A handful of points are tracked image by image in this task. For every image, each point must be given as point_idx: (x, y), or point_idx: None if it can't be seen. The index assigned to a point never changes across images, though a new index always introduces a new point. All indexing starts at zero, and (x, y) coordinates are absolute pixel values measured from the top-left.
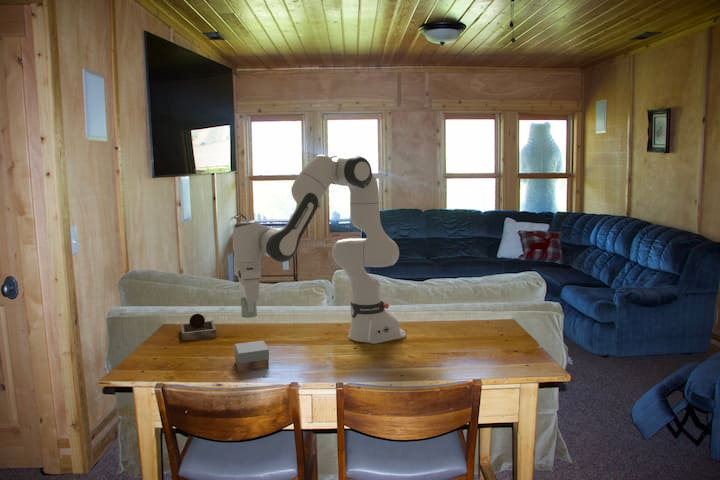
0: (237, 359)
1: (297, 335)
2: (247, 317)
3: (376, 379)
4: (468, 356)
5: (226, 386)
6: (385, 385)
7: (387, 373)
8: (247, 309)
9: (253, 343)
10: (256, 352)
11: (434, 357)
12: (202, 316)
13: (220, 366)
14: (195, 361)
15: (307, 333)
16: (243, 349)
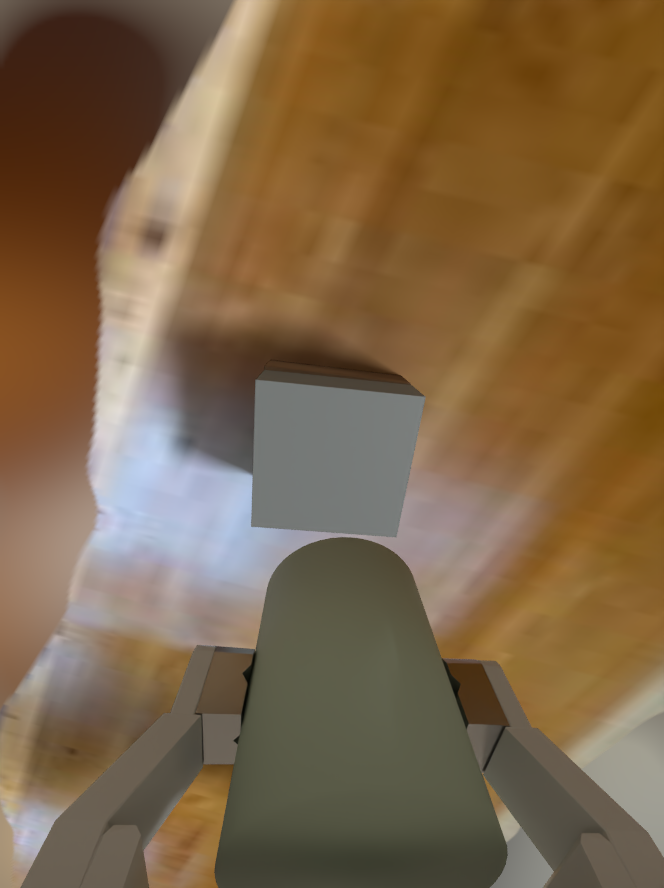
0: (324, 375)
1: (539, 642)
2: (274, 574)
3: (57, 703)
4: (150, 866)
5: (122, 264)
6: (8, 706)
7: (94, 732)
8: (255, 659)
9: (377, 486)
10: (253, 468)
11: (169, 826)
12: None
13: (383, 297)
14: (526, 182)
15: (535, 670)
16: (308, 419)
